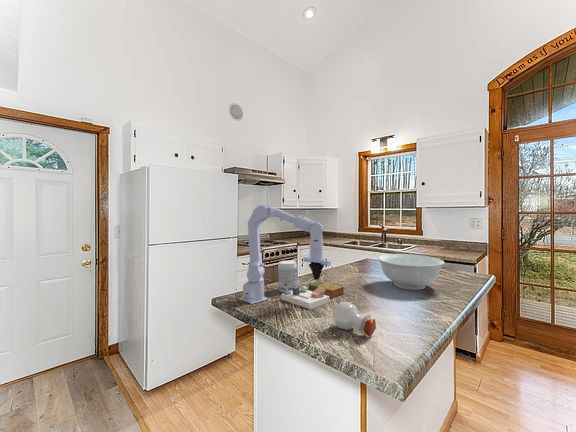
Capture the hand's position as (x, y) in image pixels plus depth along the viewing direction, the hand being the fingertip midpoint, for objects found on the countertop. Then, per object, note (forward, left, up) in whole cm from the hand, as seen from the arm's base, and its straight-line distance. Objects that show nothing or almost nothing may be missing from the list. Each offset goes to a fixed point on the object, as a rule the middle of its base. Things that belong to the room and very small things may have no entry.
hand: (316, 279), depth 129 cm
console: (-2, +5, -10) cm, 12 cm away
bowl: (+55, -18, -10) cm, 59 cm away
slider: (-5, +8, -8) cm, 12 cm away
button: (+1, +10, -8) cm, 12 cm away
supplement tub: (+3, +22, -10) cm, 25 cm away
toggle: (-7, +12, -7) cm, 16 cm away
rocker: (+1, 0, -6) cm, 6 cm away
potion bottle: (-13, -28, -11) cm, 33 cm away
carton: (+13, +6, -11) cm, 18 cm away
